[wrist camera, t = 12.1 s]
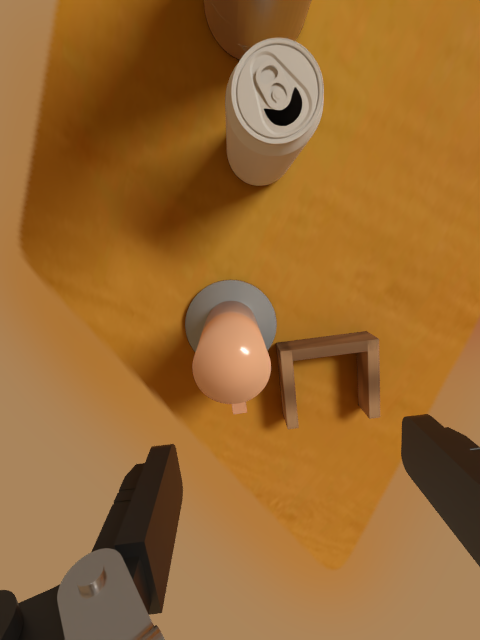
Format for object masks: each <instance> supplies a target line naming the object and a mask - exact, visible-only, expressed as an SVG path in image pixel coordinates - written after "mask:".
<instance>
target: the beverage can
mask: <svg viewBox="0 0 480 640" xmlns="http://www.w3.org/2000/svg"><path fill="white" fill-rule="evenodd" d="M323 93H324V87H323V79H322V74H321V71H320V68H319V66H318V64H317V62H316V60H315V59H314V57H313V56H312V55H311V53H310V52H309V51H308V50H307V49H306V48H305V47H303V46H302V45H301V44H299V43H297V42H295V41H293V40H290V39H286V38H270V39H266V40H263V41H261V42H259V43H257V44H255V45H254V46H252V47H251V48H250V49H249V50H248V51H247V52H246V53H245V54H244V55H243V57H242V58H241V59H240V61H239V63H238V64H237V65H236V67H235V68H234V70H233V72H232V74H231V76H230V78H229V81H228V84H227V89H226V97H225V109H226V142H227V157H228V161H229V164H230V166H231V168H232V170H233V172H234V173H235V174H236V175H237V176H238V177H239V178H240V179H241V180H242V181H244V182H246V183H248V184H251V185H255V186H264V185H268V184H271V183H273V182H275V181H277V180H278V179H280V178H281V177H282V176H283V175H284V174H285V172H286V171H287V170H288V168H289V167H290V165H291V164H292V163H293V161H294V160H295V159H296V157H297V156H298V155H299V153H300V152H301V150H302V149H303V148H304V146H305V145H306V144H307V142H308V141H309V139H310V138H311V137H312V135H313V134H314V132H315V130H316V129H317V127H318V124H319V122H320V119H321V115H322V111H323V101H324V98H323Z"/></svg>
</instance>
